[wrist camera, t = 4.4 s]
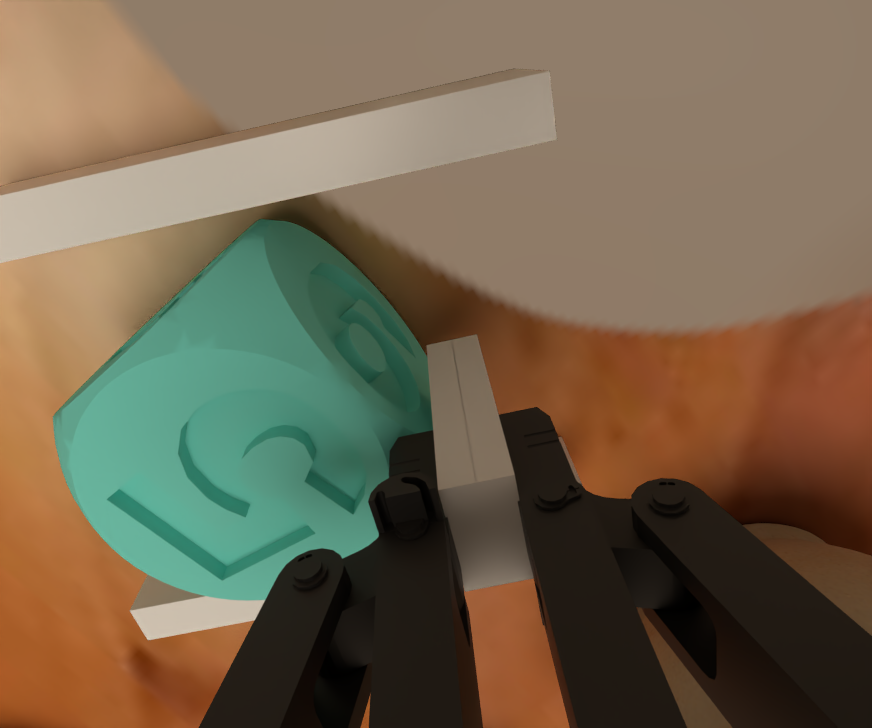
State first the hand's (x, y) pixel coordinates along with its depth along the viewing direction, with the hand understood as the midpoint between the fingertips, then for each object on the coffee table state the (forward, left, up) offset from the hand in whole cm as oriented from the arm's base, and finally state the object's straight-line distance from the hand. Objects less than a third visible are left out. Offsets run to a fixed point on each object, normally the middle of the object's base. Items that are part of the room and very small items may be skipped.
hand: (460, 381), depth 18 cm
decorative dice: (+6, 0, -5) cm, 8 cm away
